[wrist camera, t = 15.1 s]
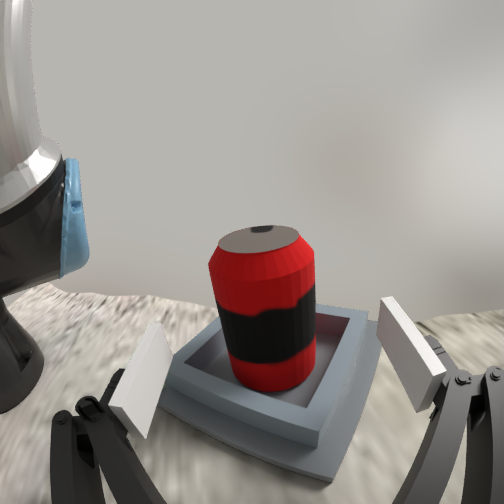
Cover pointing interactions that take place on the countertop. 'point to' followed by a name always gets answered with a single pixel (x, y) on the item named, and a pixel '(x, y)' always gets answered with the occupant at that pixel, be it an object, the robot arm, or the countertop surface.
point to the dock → (280, 395)
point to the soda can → (266, 305)
